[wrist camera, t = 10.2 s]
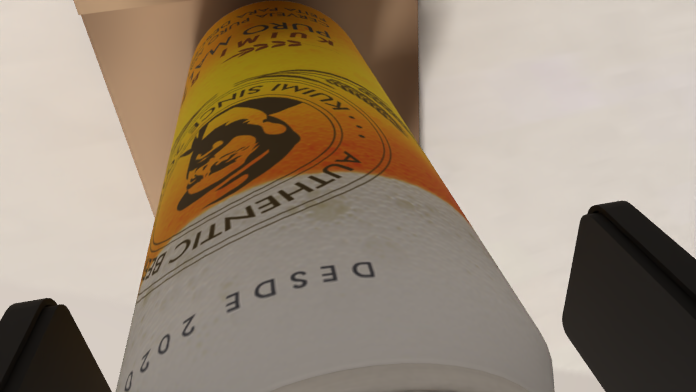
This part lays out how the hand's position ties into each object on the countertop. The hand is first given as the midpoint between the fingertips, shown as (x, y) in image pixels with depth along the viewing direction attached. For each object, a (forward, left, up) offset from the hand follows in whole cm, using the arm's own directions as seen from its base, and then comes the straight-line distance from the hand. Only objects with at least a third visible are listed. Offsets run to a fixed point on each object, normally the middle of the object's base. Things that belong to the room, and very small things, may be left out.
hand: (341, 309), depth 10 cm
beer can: (0, 0, -11) cm, 11 cm away
